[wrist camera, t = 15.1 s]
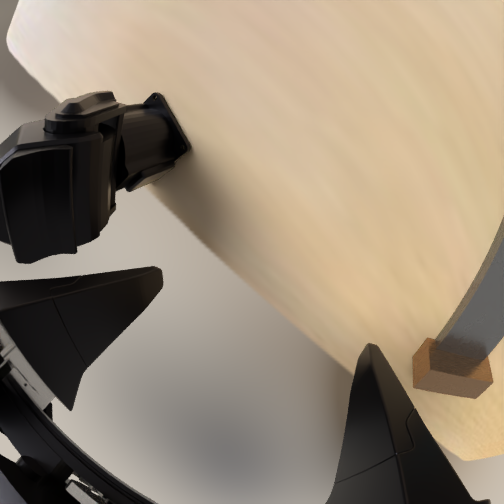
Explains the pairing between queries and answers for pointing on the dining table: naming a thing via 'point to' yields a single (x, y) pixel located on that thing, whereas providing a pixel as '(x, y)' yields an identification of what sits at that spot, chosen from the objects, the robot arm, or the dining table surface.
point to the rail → (467, 335)
